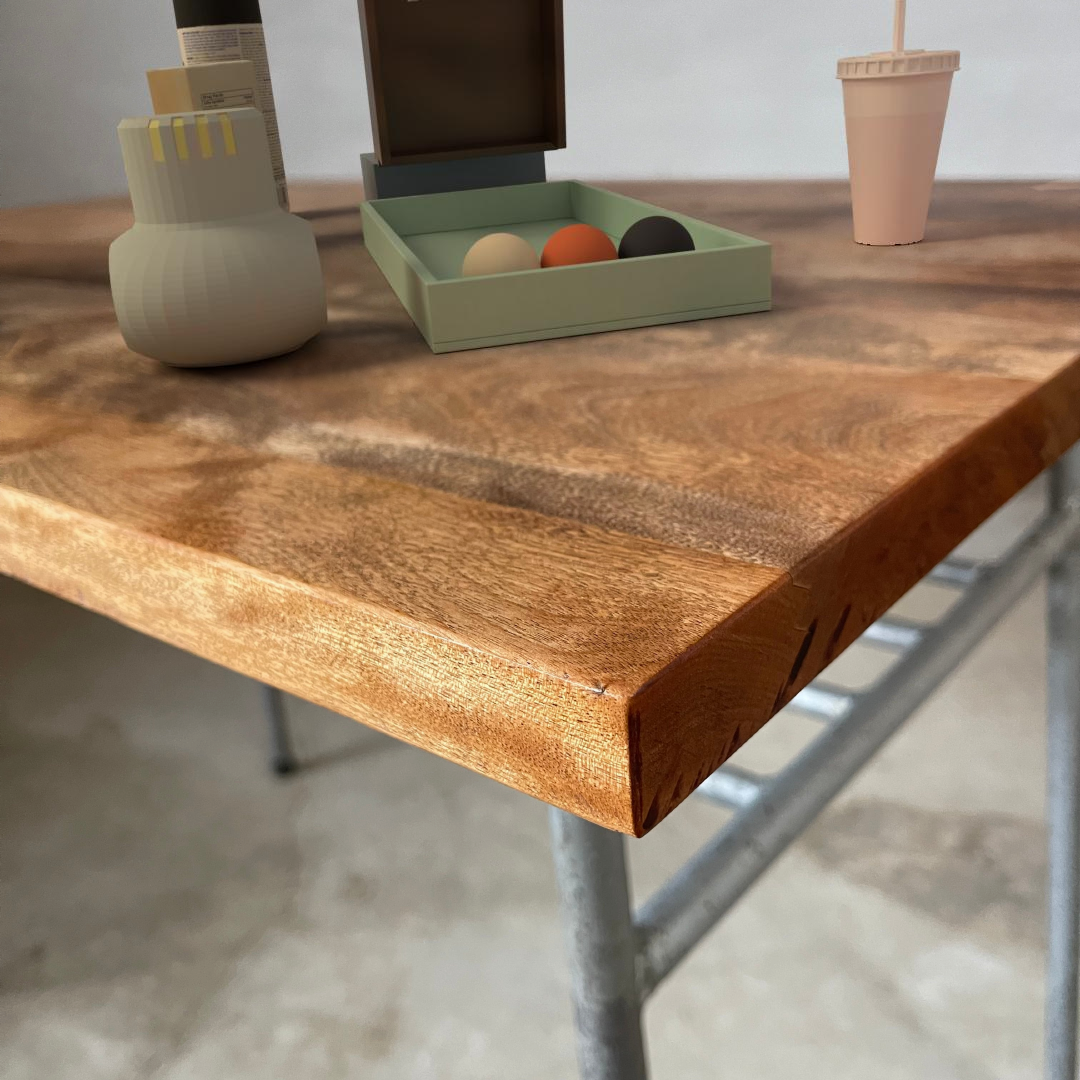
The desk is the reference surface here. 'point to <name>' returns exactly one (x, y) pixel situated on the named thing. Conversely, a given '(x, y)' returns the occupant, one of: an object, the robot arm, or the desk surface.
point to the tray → (557, 292)
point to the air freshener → (211, 245)
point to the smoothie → (894, 135)
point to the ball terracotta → (577, 247)
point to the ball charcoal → (655, 238)
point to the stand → (450, 175)
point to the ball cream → (499, 256)
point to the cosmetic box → (204, 87)
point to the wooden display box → (463, 78)
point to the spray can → (233, 57)
